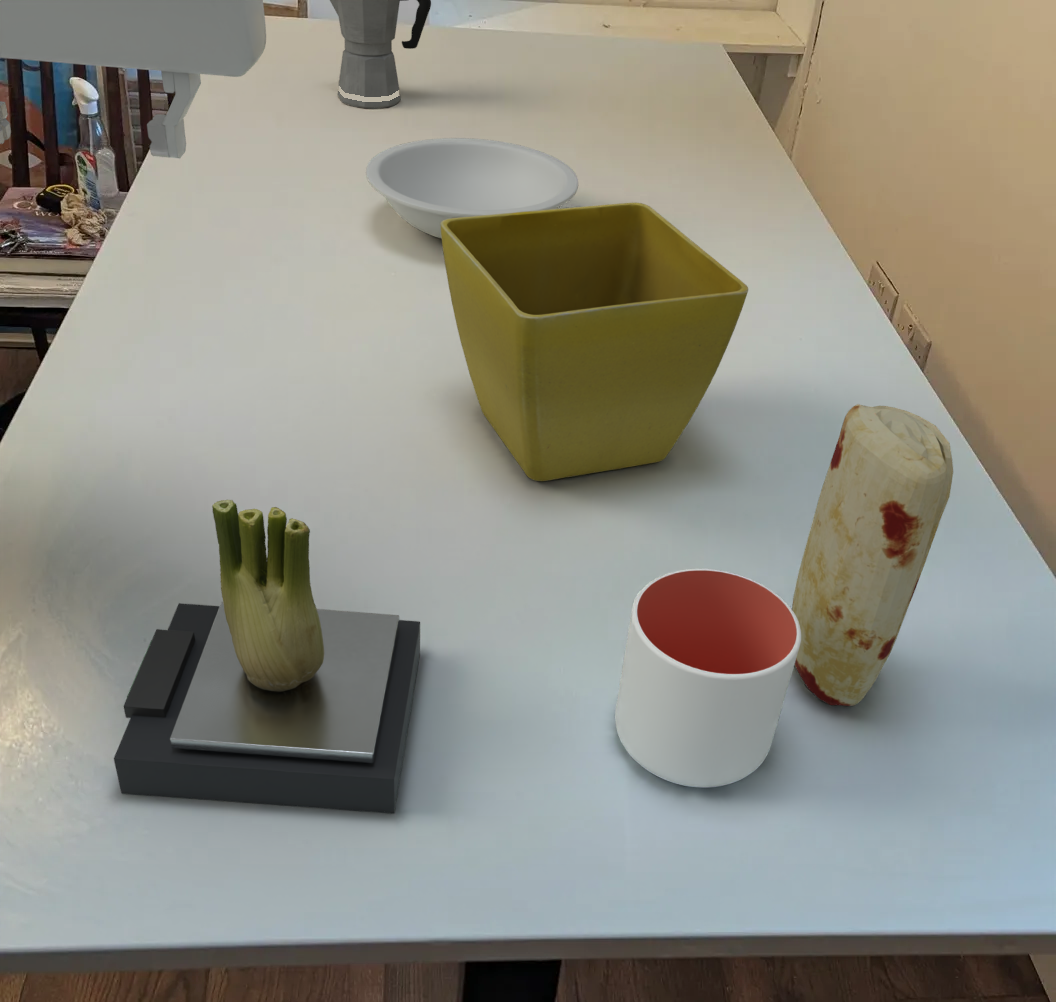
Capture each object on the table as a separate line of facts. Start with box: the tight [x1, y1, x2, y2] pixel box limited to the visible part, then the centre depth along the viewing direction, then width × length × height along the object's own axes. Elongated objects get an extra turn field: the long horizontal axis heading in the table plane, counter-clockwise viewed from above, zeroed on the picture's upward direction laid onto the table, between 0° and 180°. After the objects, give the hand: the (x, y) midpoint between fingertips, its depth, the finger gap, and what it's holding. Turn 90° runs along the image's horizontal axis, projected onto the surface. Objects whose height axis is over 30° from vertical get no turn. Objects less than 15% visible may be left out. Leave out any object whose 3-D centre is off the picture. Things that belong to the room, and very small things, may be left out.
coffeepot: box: [329, 0, 432, 110], centre depth 167 cm, size 15×9×18 cm, turn 88°
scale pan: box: [170, 601, 400, 763], centre depth 72 cm, size 12×12×1 cm
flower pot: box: [440, 202, 749, 482], centre depth 98 cm, size 19×19×17 cm
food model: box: [791, 403, 954, 707], centre depth 75 cm, size 10×7×20 cm
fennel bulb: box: [211, 499, 324, 692], centre depth 68 cm, size 6×5×12 cm
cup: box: [614, 568, 801, 788], centre depth 73 cm, size 10×10×10 cm
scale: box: [113, 602, 421, 814], centre depth 73 cm, size 16×14×4 cm
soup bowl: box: [365, 137, 579, 240], centre depth 135 cm, size 24×24×7 cm
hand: (81, 147), depth 63 cm, fingers open, 8 cm apart
